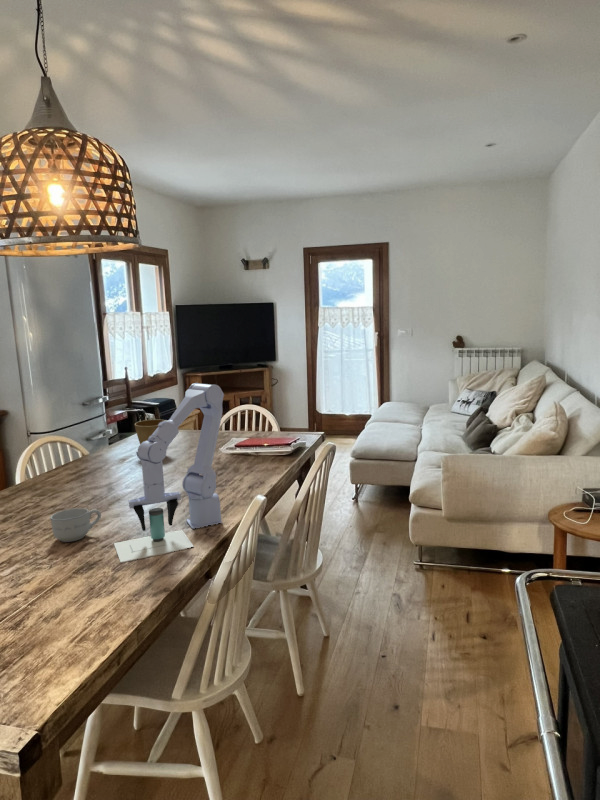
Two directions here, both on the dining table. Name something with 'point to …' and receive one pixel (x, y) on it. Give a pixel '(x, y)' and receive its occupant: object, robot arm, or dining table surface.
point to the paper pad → (151, 546)
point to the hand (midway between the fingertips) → (157, 527)
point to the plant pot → (146, 429)
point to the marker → (156, 524)
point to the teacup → (72, 523)
